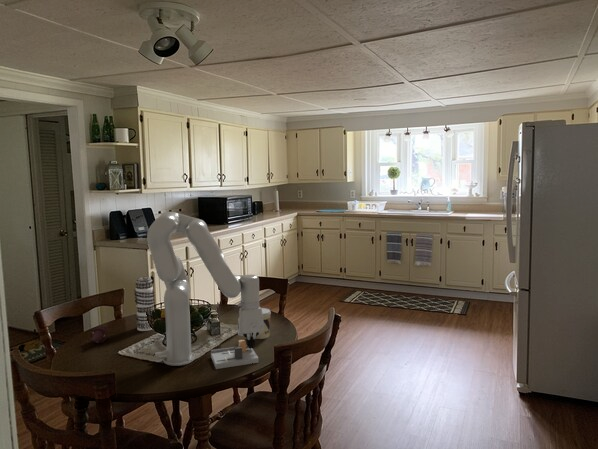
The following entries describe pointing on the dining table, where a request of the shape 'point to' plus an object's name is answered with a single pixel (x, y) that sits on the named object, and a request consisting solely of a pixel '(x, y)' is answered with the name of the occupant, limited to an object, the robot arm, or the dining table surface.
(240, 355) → the fader black
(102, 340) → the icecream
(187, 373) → the dining table surface
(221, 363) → the console
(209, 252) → the robot arm
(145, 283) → the decorative candle
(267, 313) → the coffee cup
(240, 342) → the fader orange
